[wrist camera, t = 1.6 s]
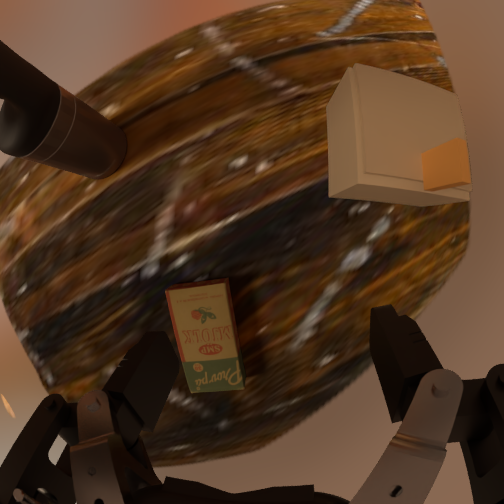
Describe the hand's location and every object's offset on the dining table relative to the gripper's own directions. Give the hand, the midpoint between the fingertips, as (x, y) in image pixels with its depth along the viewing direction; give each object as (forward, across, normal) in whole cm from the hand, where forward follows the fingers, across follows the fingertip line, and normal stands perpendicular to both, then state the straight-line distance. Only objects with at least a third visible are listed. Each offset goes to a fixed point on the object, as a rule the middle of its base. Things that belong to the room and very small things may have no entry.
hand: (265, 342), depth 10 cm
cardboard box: (+32, -16, -4) cm, 36 cm away
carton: (+23, +13, +16) cm, 31 cm away
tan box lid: (+21, -18, -7) cm, 28 cm away
